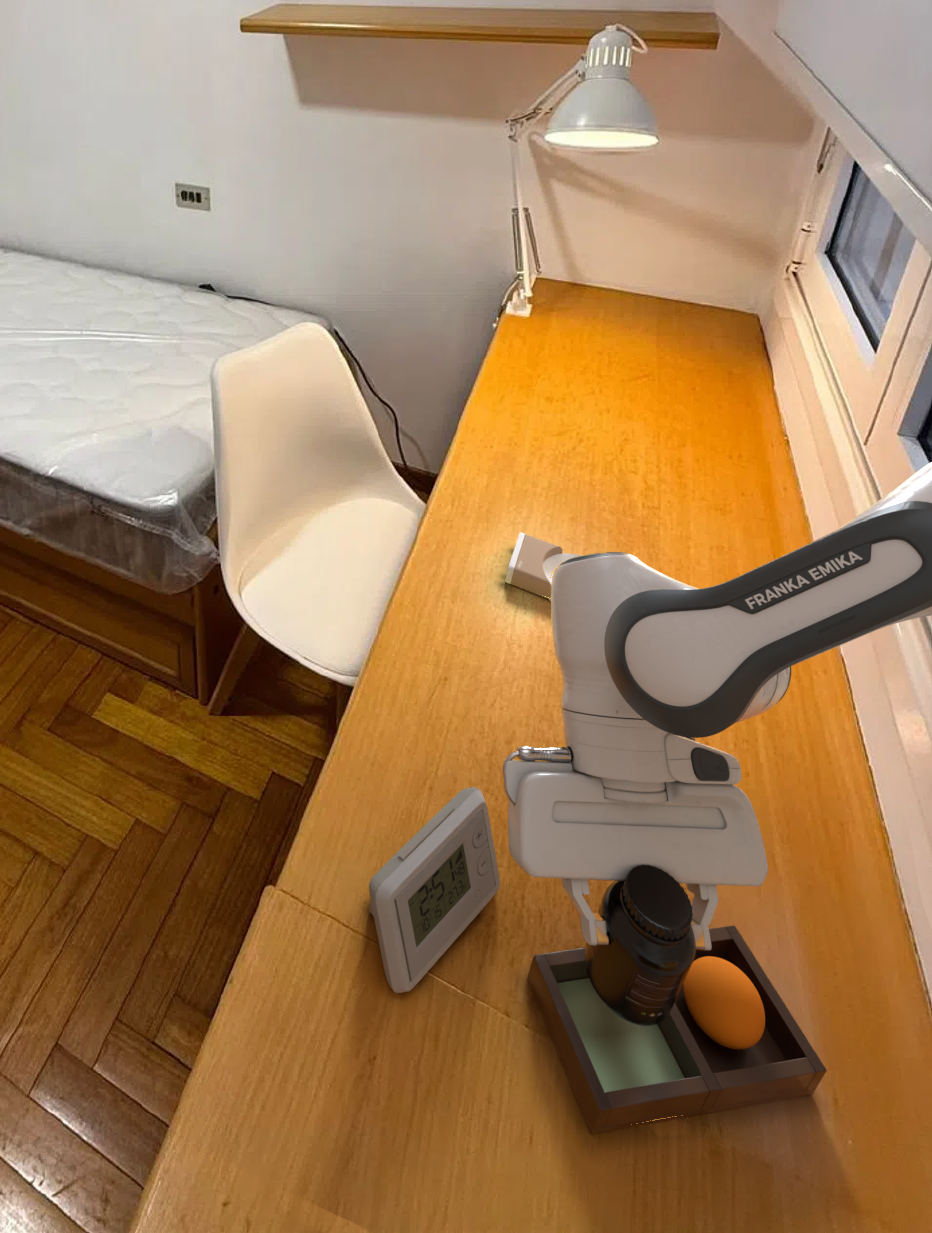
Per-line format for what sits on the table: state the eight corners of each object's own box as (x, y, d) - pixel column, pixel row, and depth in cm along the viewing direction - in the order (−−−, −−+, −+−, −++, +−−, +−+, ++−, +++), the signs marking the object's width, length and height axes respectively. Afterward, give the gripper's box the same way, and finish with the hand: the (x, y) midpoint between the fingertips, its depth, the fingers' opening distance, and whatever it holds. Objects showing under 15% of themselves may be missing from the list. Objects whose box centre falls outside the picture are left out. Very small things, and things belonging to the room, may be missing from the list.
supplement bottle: (569, 933, 72) (596, 848, 68) (645, 933, 73) (678, 848, 68) (604, 1031, 66) (638, 945, 61) (688, 1031, 66) (728, 945, 61)
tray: (723, 948, 78) (734, 924, 76) (813, 1094, 68) (827, 1070, 67) (526, 978, 75) (533, 954, 74) (590, 1134, 66) (600, 1110, 64)
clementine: (721, 975, 75) (739, 937, 73) (770, 1059, 70) (792, 1020, 67) (661, 984, 74) (677, 946, 72) (706, 1070, 69) (725, 1031, 67)
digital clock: (390, 1009, 73) (404, 939, 69) (333, 907, 80) (342, 838, 76) (523, 920, 80) (543, 851, 76) (459, 833, 87) (473, 766, 83)
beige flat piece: (522, 525, 127) (666, 577, 118) (518, 540, 128) (660, 593, 119) (506, 573, 117) (661, 633, 108) (502, 589, 119) (655, 650, 110)
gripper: (512, 751, 69) (532, 956, 64) (759, 761, 68) (798, 967, 63) (489, 738, 75) (505, 924, 69) (715, 747, 74) (749, 935, 69)
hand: (647, 945), depth 66 cm, fingers closed on supplement bottle, 7 cm apart
